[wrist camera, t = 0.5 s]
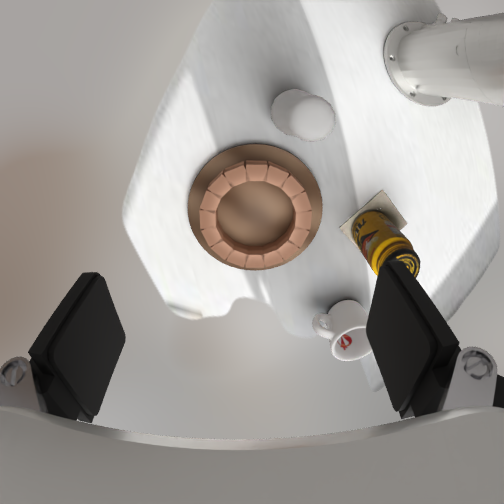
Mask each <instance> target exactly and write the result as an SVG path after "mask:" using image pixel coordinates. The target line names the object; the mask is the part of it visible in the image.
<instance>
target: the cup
mask: <svg viewBox="0 0 504 504" xmlns="http://www.w3.org/2000/svg"><path fill="white" fill-rule="evenodd" d="M319 320H320V321H323V322H324V323H325V324H326V325H327V327H328V329H326V328H323V327H322V326H321V325H320V323H319ZM367 320H368V314H367V313H366V311H365V309H364V308H363V307H362V306H361V304H359V303H358V302H356V301H353V300H344V301H341V302H338V303H337V304H335V305H334V306H333V307H332V308H331V309H330V311H329V312H328V314H324V313H318V314H316V315H315V316H314V318H313V322H312V325H313V329H314V331H315V332H316V333H317V334H318V335H320V336H322V337H325V338H329V340H330V348H331V352H332V354H333V355H334V357H336V358H337V359H339V360H343V361H352V360H357V359H360V358H362V357H365V356H366V355H368V354H369V353H371V352H372V348H371V346H370V343H369V340H368V338H367V335H366V324H367Z"/></svg>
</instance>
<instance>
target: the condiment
mask: <svg viewBox="0 0 504 504" xmlns="http://www.w3.org/2000/svg"><path fill="white" fill-rule="evenodd" d="M379 208H381V209H379ZM377 209H378V210H377ZM405 225H407V223H406V221H405V220H404V219H403V217H402V216H401V214H400V213H399V211H398V210H397V209H396V207H395V206H394V205H393V203H392V202H391V200H390V199H389V198H388V196H387V195H386V194H385V192H384V191H383V190H382V191H380V193H378V194H377V195H376V196H375V197H374V198H373V199H372V200H371V201H369V202H368V203H367V204H366V205H365V206H364V207H363V208H361V209H360V210H359V211H358V212H357V213H356V214H355V215H353V216H352V217H351V218H350V219H349V220H348V221H347V222H345V223H344V224H343V225H342V226H341V227H340V229H341V230H342V231H343V233H344V234H345V235H346V236H347V237H348V238H349V239H350V240H351V241H352V242H353V244H354V245H355V246H356V247H357V248H358V249H359V250H360V252H361V253H362V254H363V255H364V257H365V259H366V260H367V262H368V263H369V265H370V267H371V268H372V270H373V271H374V273H375V274H376V275H377V276H378V272H379V268H380V267H381V266H384V263H385V262H386V261H403V262H404V264H405V265H406V266H407V268H408V269H409V270H410V272H411V273H412V274H413V276H414V277H415V278H416V277H417V275H418V273H419V269H420V259H419V257H418V255H417V254H416V252H415V251H414V250H413V246H412V244H411V243H410V241H409V240H408V239H407V238H406V237H405V236H404V235H403V234H402V233H401V232H400V230H401V229H402V228H403V227H404V226H405Z"/></svg>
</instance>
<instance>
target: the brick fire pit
mask: <svg viewBox="0 0 504 504" xmlns="http://www.w3.org/2000/svg"><path fill="white" fill-rule="evenodd" d="M188 217H189V222H190V226H191V229H192V231H193V233H194V236H195V237H196V239H197V240H198V242H199V243H200V245H201V246H202V247H203V248H204V249H205V250H206V251H207V252H208V253H209V254H210V255H211V256H213V257H214V258H215V259H217V260H219V261H220V262H222V263H224V264H226V265H229V266H231V267H235V268H238V269H244V270H265V269H271V268H274V267H278V266H281V265H283V264H285V263H287V262H289V261H291V260H293V259H294V258H295V257H297V256H298V255H300V254H301V253H302V252H303V251H304V250H305V249H306V248H307V247H308V245H309V244H310V243H311V242H312V240H313V238H314V237H315V235H316V233H317V231H318V228H319V225H320V222H321V217H322V197H321V193H320V189H319V187H318V184H317V182H316V180H315V178H314V176H313V175H312V173H311V172H310V171H309V169H308V168H307V167H306V166H305V165H304V164H303V163H302V162H301V161H300V160H299V159H298V158H297V157H295V156H294V155H292V154H291V153H289V152H287V151H285V150H283V149H280V148H278V147H275V146H270V145H265V144H246V145H240V146H236V147H233V148H230V149H228V150H226V151H224V152H222V153H220V154H218V155H217V156H215V157H214V158H213V159H211V160H210V161H209V162H208V163H207V164H206V165H205V166H204V167H203V169H202V170H201V171H200V173H199V174H198V176H197V177H196V179H195V181H194V183H193V185H192V188H191V191H190V194H189V200H188Z"/></svg>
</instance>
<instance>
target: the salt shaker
mask: <svg viewBox="0 0 504 504" xmlns="http://www.w3.org/2000/svg"><path fill="white" fill-rule="evenodd" d="M271 119H272V121H273V122H274V124H275V126H276V127H277V129H279V130H280V131H282V132H283V133H284V134H286V135H291V136H296V137H298V138H300V139H301V140H305V141H310V142H314V141H319V140H323V139H325V138H326V137H327V136H328V135H329V134H331V132H332V130H333V128H334V126H335V124H336V120H335V112H334V110H333V108H332V106H331V104H330V103H328V102H327V101H326V100H325V99H323V98H322V97H320V96H316V95H312V94H309V93H307V92H306V91H302V90H298V89H291V90H288V91H284V92H282V93H281V94H280V95H279V96H277V97H276V98H275V100H274V102H273V104H272V107H271Z"/></svg>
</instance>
